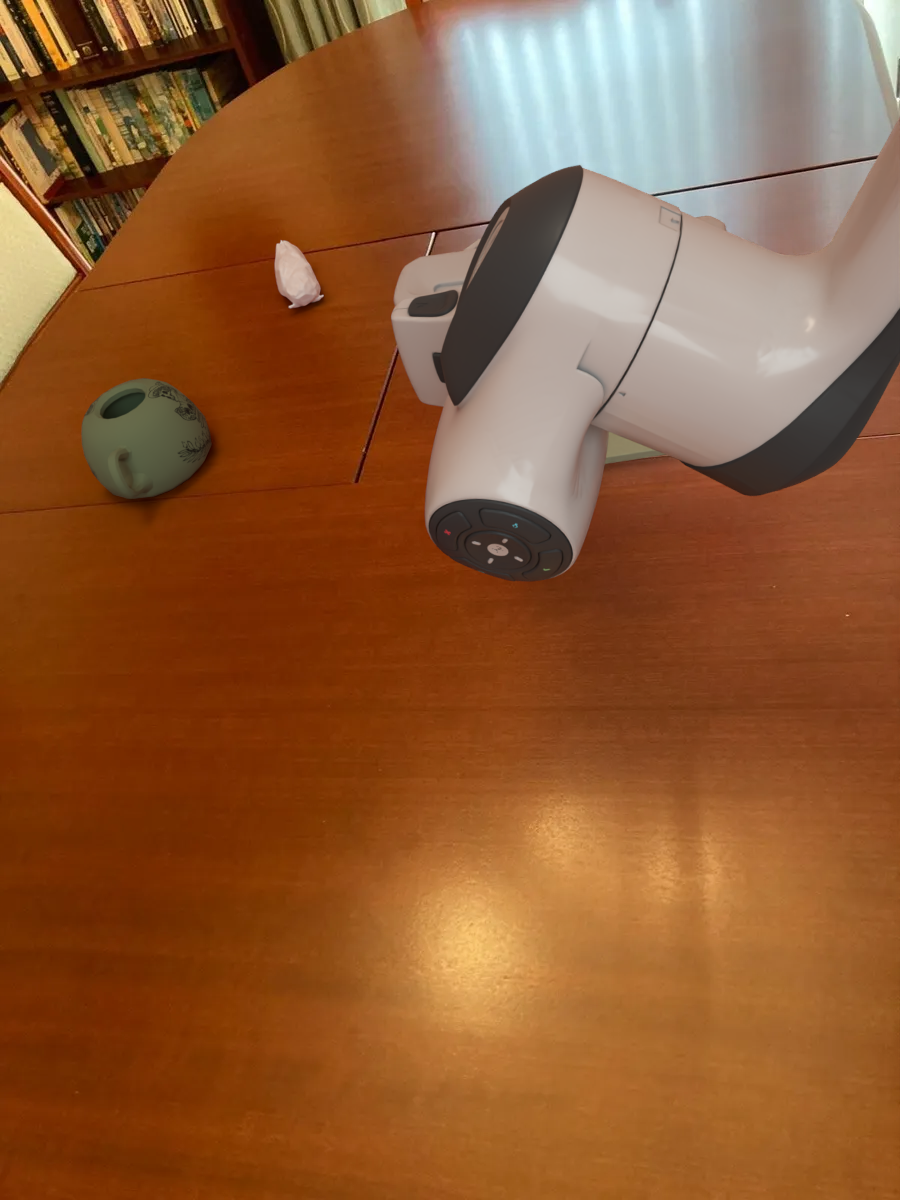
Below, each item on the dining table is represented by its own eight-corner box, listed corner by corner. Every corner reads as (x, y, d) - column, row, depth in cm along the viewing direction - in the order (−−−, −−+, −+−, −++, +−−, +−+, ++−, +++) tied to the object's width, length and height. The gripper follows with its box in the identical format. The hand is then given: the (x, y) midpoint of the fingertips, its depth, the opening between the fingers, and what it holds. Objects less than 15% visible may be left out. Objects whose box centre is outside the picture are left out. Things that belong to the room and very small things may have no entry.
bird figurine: (275, 298, 115) (289, 312, 107) (261, 244, 112) (274, 253, 103) (311, 290, 116) (328, 302, 108) (299, 235, 113) (315, 244, 104)
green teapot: (118, 442, 99) (75, 379, 93) (225, 414, 98) (189, 348, 91) (89, 541, 89) (39, 477, 82) (208, 512, 87) (166, 444, 81)
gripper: (731, 273, 45) (732, 148, 53) (364, 318, 51) (415, 200, 60) (733, 375, 50) (733, 245, 58) (396, 404, 56) (440, 284, 64)
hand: (569, 222), depth 59 cm, fingers open, 8 cm apart
